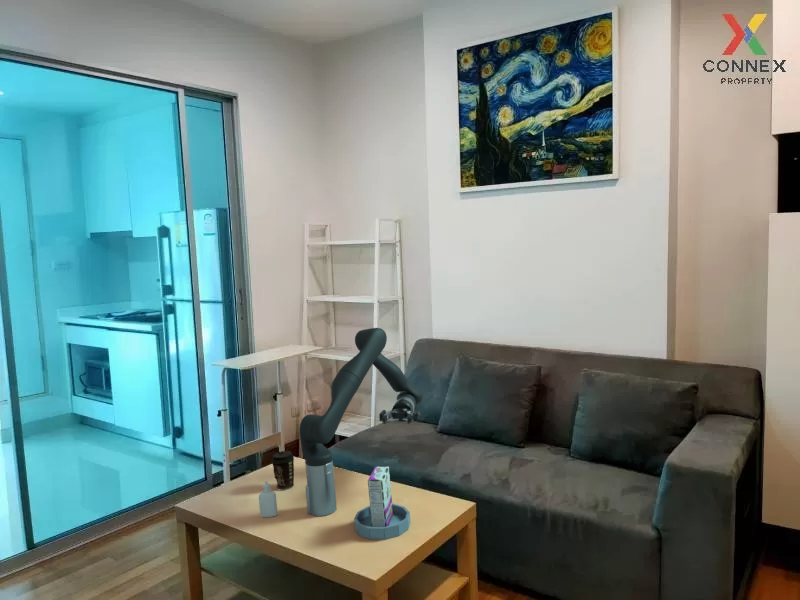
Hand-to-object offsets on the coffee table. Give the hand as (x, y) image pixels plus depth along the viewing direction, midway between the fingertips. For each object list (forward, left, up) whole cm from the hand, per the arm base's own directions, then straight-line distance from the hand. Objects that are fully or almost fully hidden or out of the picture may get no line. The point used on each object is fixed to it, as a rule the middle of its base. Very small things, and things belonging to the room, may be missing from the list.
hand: (396, 421), depth 205 cm
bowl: (-3, -22, -27) cm, 35 cm away
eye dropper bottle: (-44, -15, -28) cm, 54 cm away
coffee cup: (-47, +9, -28) cm, 55 cm away
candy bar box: (-3, -22, -27) cm, 35 cm away
